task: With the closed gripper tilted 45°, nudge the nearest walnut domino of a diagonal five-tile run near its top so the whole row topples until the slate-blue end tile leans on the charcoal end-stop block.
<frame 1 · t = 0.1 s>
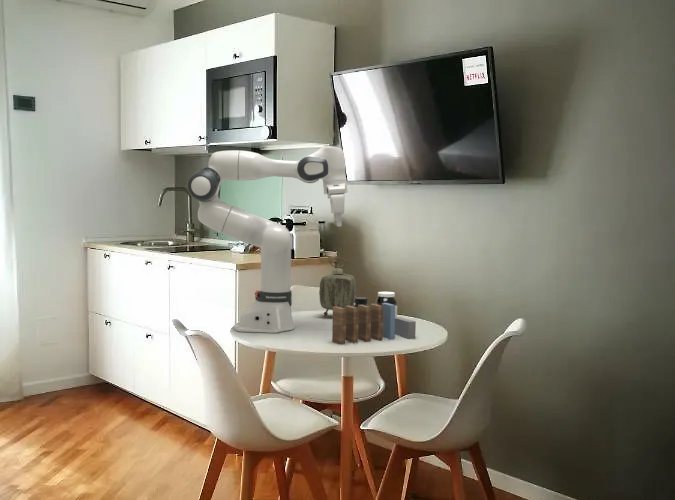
hand: (338, 225, 253), 39 cm above the table, tool pointing down, fingers open, 8 cm apart
domino 3: (363, 340, 236), on the table
domino 1: (338, 342, 231), on the table
supplement bottle: (360, 330, 255), on the table
end stop: (403, 335, 244), on the table
domino 4: (375, 338, 239), on the table
domino 2: (351, 341, 234), on the table
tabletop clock: (337, 317, 280), on the table
spread jar: (380, 321, 274), on the table
domino 5: (387, 337, 241), on the table
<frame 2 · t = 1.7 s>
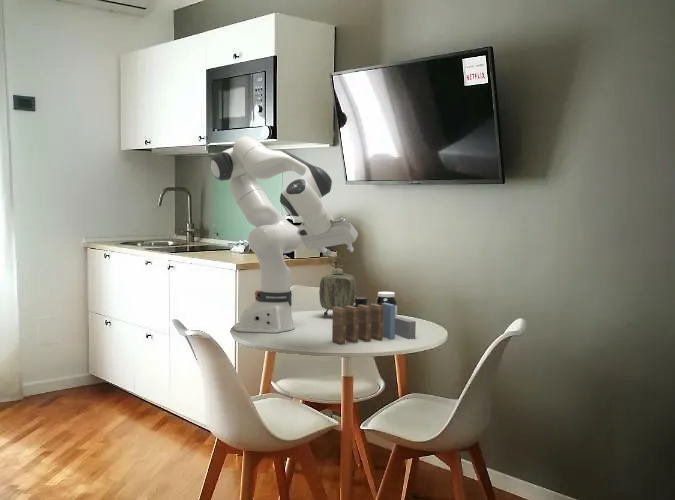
hand: (340, 252, 230), 31 cm above the table, tool tilted 40°, fingers open, 8 cm apart
nothing on the table moved.
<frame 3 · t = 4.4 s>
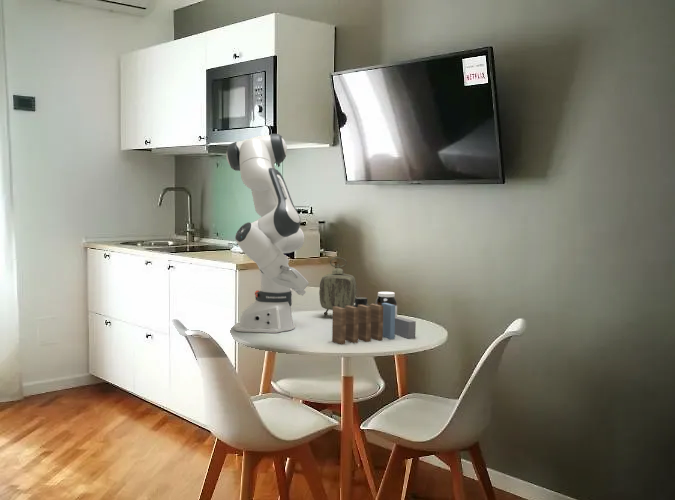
hand: (302, 293, 223), 18 cm above the table, tool tilted 45°, fingers closed
nothing on the table moved.
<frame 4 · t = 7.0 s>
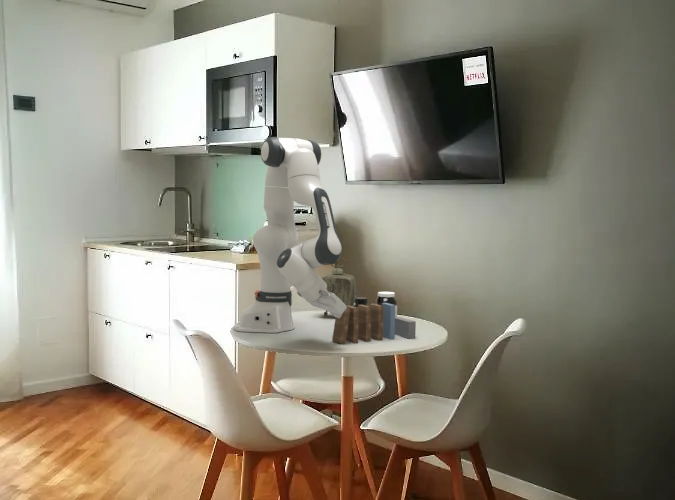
hand: (338, 316, 231), 9 cm above the table, tool tilted 45°, fingers closed
domino 1: (338, 342, 231), on the table, tilted 9°
everything else where it was.
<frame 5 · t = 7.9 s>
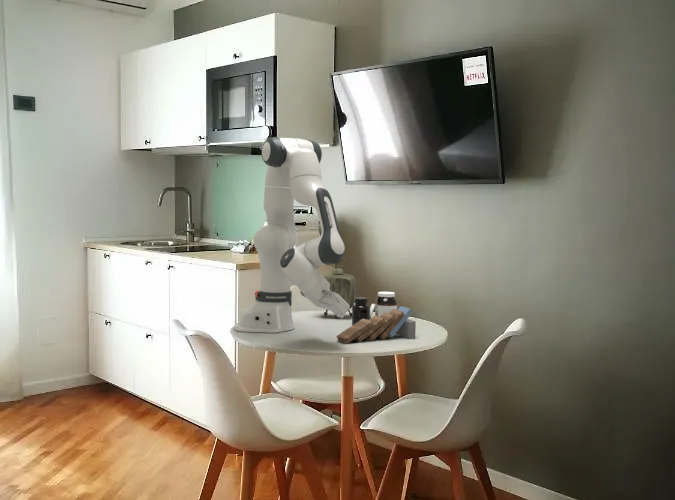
hand: (341, 315, 231), 9 cm above the table, tool tilted 45°, fingers closed
domino 3: (366, 337, 237), point 1 cm above the table, tilted 54°, touching domino 2, domino 4
domino 1: (341, 339, 232), point 1 cm above the table, tilted 63°, touching domino 2
domino 4: (377, 336, 239), point 1 cm above the table, tilted 47°, touching domino 3, domino 5
domino 2: (354, 338, 234), point 1 cm above the table, tilted 59°, touching domino 1, domino 3
domino 5: (386, 333, 241), point 1 cm above the table, tilted 46°, touching domino 4, end stop
everything else where it was.
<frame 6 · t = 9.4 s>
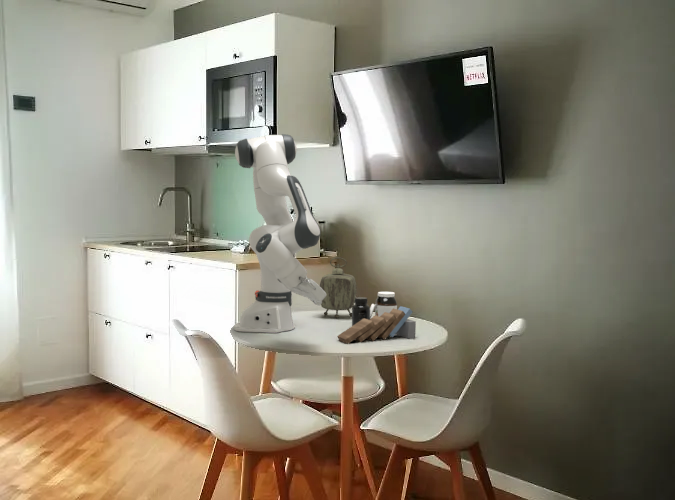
hand: (318, 303, 227), 14 cm above the table, tool tilted 45°, fingers closed
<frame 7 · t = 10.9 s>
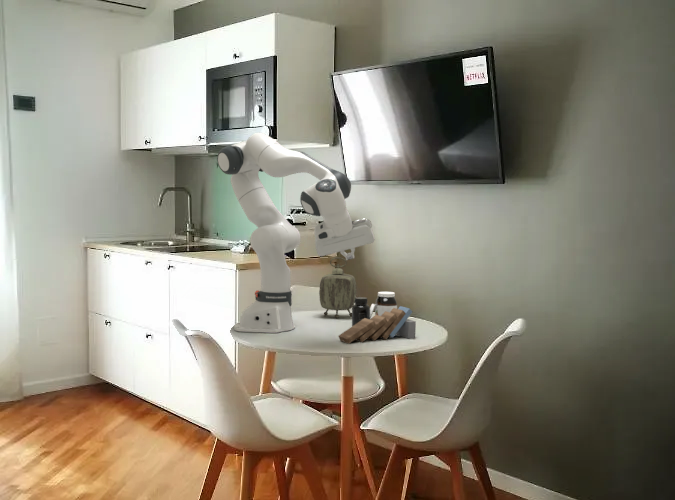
hand: (350, 258, 233), 29 cm above the table, tool tilted 35°, fingers closed
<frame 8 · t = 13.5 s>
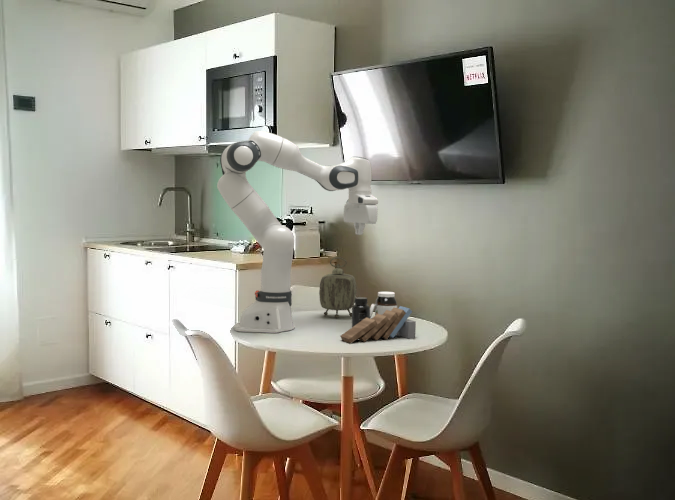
hand: (359, 234, 264), 35 cm above the table, tool pointing down, fingers closed
domino 1: (345, 339, 233), point 1 cm above the table, tilted 61°
domino 2: (358, 338, 235), point 1 cm above the table, tilted 55°, touching domino 3
at the end: domino 5 tilted 42°; domino 3 tilted 47° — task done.
